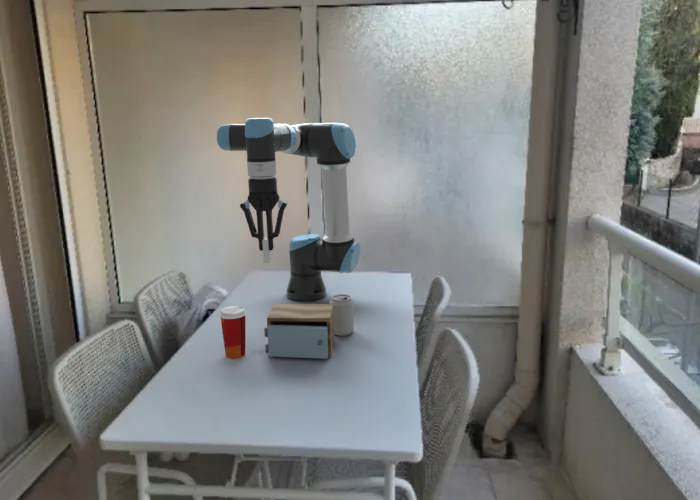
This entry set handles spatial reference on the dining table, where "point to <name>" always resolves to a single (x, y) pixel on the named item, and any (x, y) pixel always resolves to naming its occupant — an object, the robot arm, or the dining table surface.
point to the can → (343, 314)
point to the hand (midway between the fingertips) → (267, 261)
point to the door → (297, 341)
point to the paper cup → (233, 331)
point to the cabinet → (305, 317)
